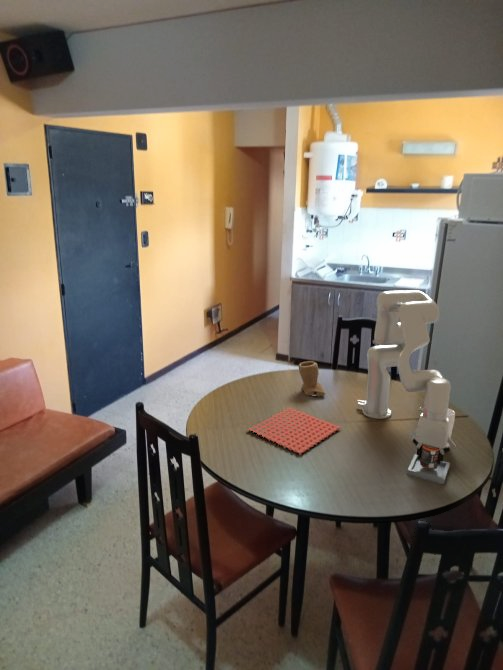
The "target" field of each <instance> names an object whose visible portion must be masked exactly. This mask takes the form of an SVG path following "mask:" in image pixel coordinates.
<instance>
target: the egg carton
mask: <svg viewBox="0 0 503 670" xmlns="http://www.w3.org/2000/svg"><path fill="white" fill-rule="evenodd" d="M286 408H287V410H292V409H293V408H292V407H286ZM291 408H292V409H291ZM283 410H284V411H283V412H282V410H281V411H279V412H280V413H279V412H278V413H279V414H278V413H275V414H276V415H275V414H273V415H271V416H272V417H271V416H269V417H271V418H269V417H267V418H269V419H268V420H267V419H266V420H265V421H264V420H263V421H264V422H263V421H262V423H263V424H265V425H264V426H262V425H261V424H262V423H260V422H259V423H260V424H259V423H258V424H257V423H256V424H257V426H261V428H258V427H257V426H255V425H252V426H253V428H257V430H253V428H251V427H248V428H249V429H248V428H247V429H248V430H247V431H249V430H252V431H253V432H252V433H254V432H256V433H257V434H256V435H258V436H259V435H262V436H261V437H263V438H264V437H266V439H267V440H268V441H269V440H271V441H272V442H273V443H274V442H276V443H277V445H278V446H279V445H280V446H282V447H283V448H284V447H285V449H286V448H287V449H288V450H290V451H293V452H296V453H298V454H299V456H300V455H301V456H302V453H304V452H305V453H306V452H307V451H308V450H309V451H310V448H312V447H313V448H314V445H315V446H316V445H318V443H320V444H321V441H323V440H324V441H325V438H326V439H328V438H329V436H330V437H332V434H334V433H336V432H337V431H338V432H339V429H341V426H340V425H335V423H331V422H329V421H326V420H324V419H320V417H315V416H311V415H310V414H307V413H305V412H302V411H300V410H297V409H295V408H294V409H293V410H292V411H287V410H286V409H283ZM296 410H297V411H296ZM284 412H288V413H284ZM293 412H295V413H293ZM281 414H284V415H281ZM289 414H292V415H289ZM297 414H300V415H297ZM277 416H280V417H277ZM285 416H289V417H285ZM294 416H296V417H294ZM302 416H304V417H302ZM273 418H277V419H273ZM282 418H285V419H282ZM290 418H293V419H290ZM299 418H301V419H299ZM287 419H288V420H289V421H286V420H287ZM269 420H273V421H269ZM278 420H281V421H278ZM295 420H297V421H295ZM304 420H305V421H304ZM266 421H268V422H269V423H265V422H266ZM274 422H277V423H274ZM282 422H285V423H282ZM291 422H294V423H291ZM300 422H302V423H300ZM270 424H273V425H270ZM279 424H282V425H279ZM287 424H290V425H287ZM296 424H298V425H296ZM305 424H306V425H305ZM266 426H269V427H268V428H267V427H266ZM275 426H278V427H275ZM283 426H286V427H283ZM292 426H295V427H292ZM301 426H303V427H301ZM262 428H265V430H262ZM272 428H273V430H272ZM280 428H282V429H280ZM288 428H291V429H288ZM297 428H299V429H297ZM306 428H307V429H306ZM258 430H261V432H258ZM285 430H286V431H285ZM293 430H295V431H293ZM267 431H270V432H267ZM276 431H278V432H276ZM263 432H264V433H266V434H263ZM272 433H274V434H272ZM281 433H283V434H281ZM268 435H270V436H268ZM277 435H279V436H277ZM286 435H288V436H286ZM295 435H296V436H295ZM273 437H274V438H273ZM282 437H284V438H282ZM291 437H292V438H291ZM300 437H301V438H300ZM278 440H279V441H278ZM283 442H285V443H283ZM276 443H275V444H276Z"/></svg>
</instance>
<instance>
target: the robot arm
mask: <svg viewBox="0 0 503 670" xmlns="http://www.w3.org/2000/svg"><path fill="white" fill-rule="evenodd" d="M376 308H377V317H376V322H375V327H374V337H373V338H374V342H375V343H376V344H377V345H374V346H373V345H372V346H371V347H369V349H367V352H366V355H367V357H366V358H367V371H368V372H367V387H366V400H361V399H357V402H356V403H357V406H358V407H362V409H361V413H362V414H363V415H364V416H366V417H368V418H371V419H375V420H376V419H377V420H384V419H388V418H390V417H391V415H392V410H391V409H390V408H389V402H390V401H389V399H390V387H391V374H390V373H389V372H388V371H387V368H390V367H391V368H392V367H397V370H398V374H399V379H400V380H399V381H400V383H401V386H402V388H403V390H404V391H406V392H407V393H421V392H422V393H425V394H424V402H423V403H424V404H423V406H419V408H418V411H419V412H421V414H420V415H419V419H418V422H417V427H416V429H415V430H413V431H411V432H410V433H408V438H409V439H410V440H411V441H412V443H413V444H414V445H415V447H416V454H417V455H418V459H420V458H421V450H422V444H425V445H429V446H433V447H437V448H439V449H440V453H439V457H438V464H440V463H441V461H442V462H443V461H444V457H445V454H446V453H448V452H450V451H452V450H454V449H456V446H457V444H455V442H454V440H452V438H450V437H449V420H448V417H447V411H448V408H449V402H450V394H451V388H452V384H451V382H450V381H449V380H448V379H446V378H445V377H444V375H443V373H442V372H440V371H439V370H437V369H418V370H415V369H414V370H412V369H411V365H410V358H411V355H412V353H413V352H415V351H417V350H419V349H422V348H424V347H425V346H428V345H429V344H430V340H431V339H430V336H429V331H428V327H427V324H435V323H437V322H438V320H439V319H440V309H439V306H438V304H437V303H436V301H435V300H434V299H432V298H431V297H430V296H429V295H428V294H427V293H425V292H423V291H421V290H418V289H416V290H415V289H412V290H408V289H407V290H385V291H382V292H380V293H379V294H378V295H377V297H376ZM447 442H448V443H449V446H447ZM446 446H447V447H446Z"/></svg>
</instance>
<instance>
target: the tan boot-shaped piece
mask: <svg viewBox="0 0 503 670" xmlns="http://www.w3.org/2000/svg"><path fill="white" fill-rule="evenodd" d="M298 373H299V375H300V377H301V381H302V384H301V388H302V390H303V392H304V393H305V395H307V396H310V395H316V396H318V397H322V396H325V395H326V391H325V389H324V388H323V386H322V384H321V383H319V382H318V377H319V366H318V363H317V362H315V361H313V360H308V361H303V362H300V363H299V364H298Z"/></svg>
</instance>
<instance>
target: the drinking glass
mask: <svg viewBox="0 0 503 670" xmlns="http://www.w3.org/2000/svg"><path fill="white" fill-rule="evenodd" d="M447 417H448V420H449V437H450V438H451V437H452V433H453V428H454V424H455V418H456V412H455V411H454V410H453V409H451V408H449V407H448V411H447ZM451 439H452V438H451ZM447 446H449V443H448V442H447ZM447 446H446V447H447Z"/></svg>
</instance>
